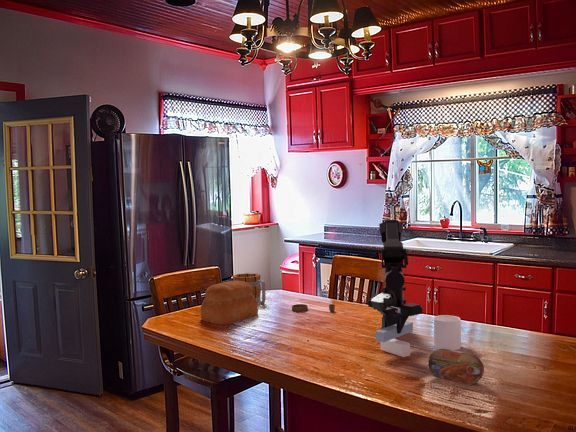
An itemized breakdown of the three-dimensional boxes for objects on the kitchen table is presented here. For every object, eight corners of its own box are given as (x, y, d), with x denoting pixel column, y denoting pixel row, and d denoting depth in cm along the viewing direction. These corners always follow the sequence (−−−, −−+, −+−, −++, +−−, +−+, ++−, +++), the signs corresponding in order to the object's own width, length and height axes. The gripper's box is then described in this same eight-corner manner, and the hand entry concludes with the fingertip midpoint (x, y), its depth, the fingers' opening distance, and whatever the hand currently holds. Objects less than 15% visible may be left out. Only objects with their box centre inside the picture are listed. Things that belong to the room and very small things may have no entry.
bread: (262, 319, 221) (261, 280, 220) (226, 330, 204) (224, 288, 203) (233, 314, 232) (232, 277, 231) (196, 324, 215) (195, 284, 214)
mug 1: (227, 307, 247) (226, 275, 246) (248, 302, 256) (247, 272, 256) (254, 312, 233) (253, 279, 232) (276, 307, 242) (275, 276, 242)
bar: (405, 329, 173) (405, 321, 172) (412, 331, 170) (412, 322, 170) (375, 340, 162) (375, 330, 162) (383, 342, 159) (383, 332, 159)
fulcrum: (369, 355, 167) (369, 340, 167) (395, 348, 174) (395, 333, 174) (394, 364, 158) (394, 348, 158) (421, 356, 165) (420, 341, 165)
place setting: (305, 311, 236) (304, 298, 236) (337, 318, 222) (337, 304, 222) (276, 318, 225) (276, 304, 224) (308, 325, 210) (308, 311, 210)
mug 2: (471, 347, 173) (470, 316, 173) (452, 355, 165) (452, 322, 165) (447, 342, 179) (447, 312, 179) (428, 350, 171) (428, 318, 171)
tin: (428, 376, 147) (427, 347, 147) (432, 373, 150) (432, 344, 149) (481, 388, 138) (481, 357, 137) (485, 384, 140) (485, 354, 140)
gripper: (355, 283, 168) (356, 330, 169) (398, 291, 153) (399, 343, 154) (379, 279, 175) (380, 325, 175) (423, 286, 159) (424, 336, 160)
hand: (394, 332), depth 166 cm, fingers closed on bar, 3 cm apart
